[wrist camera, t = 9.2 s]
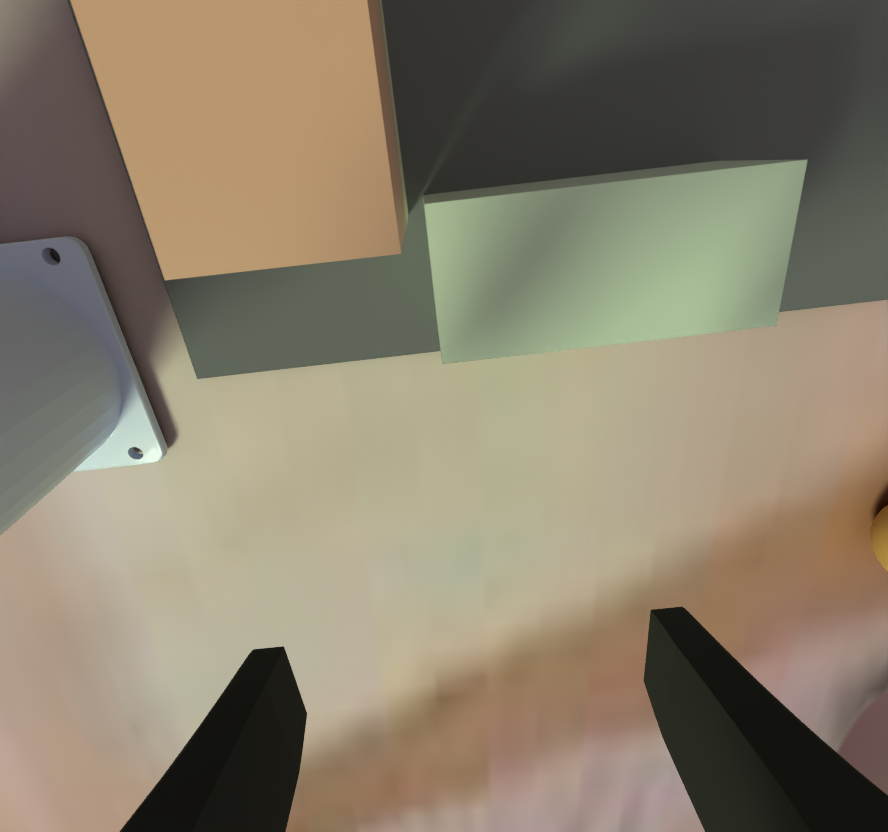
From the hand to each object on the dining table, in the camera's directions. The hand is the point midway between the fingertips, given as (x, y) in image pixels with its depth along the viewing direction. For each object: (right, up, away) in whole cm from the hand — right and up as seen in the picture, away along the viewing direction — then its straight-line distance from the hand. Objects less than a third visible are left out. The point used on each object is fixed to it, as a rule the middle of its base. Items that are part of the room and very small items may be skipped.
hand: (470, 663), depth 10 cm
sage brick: (+4, +10, +6) cm, 13 cm away
